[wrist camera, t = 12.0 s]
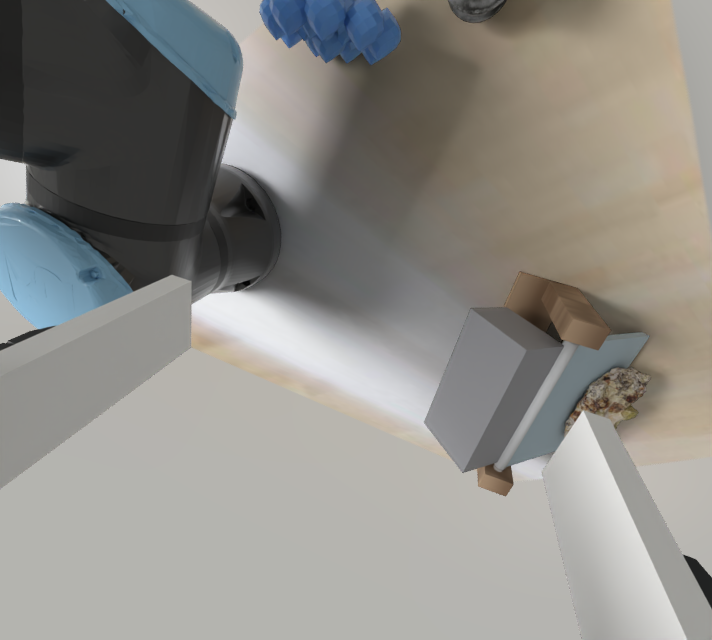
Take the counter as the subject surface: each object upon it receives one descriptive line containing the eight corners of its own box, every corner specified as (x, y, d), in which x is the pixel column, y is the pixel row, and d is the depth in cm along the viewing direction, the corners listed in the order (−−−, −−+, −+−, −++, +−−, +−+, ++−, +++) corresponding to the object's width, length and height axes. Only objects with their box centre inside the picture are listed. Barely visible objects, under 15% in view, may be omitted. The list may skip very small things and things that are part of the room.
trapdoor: (422, 425, 42) (465, 482, 37) (472, 303, 35) (536, 350, 29) (526, 403, 51) (575, 446, 45) (585, 301, 43) (652, 337, 38)
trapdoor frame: (453, 417, 49) (450, 476, 40) (519, 271, 39) (535, 307, 30) (498, 432, 48) (505, 496, 39) (577, 288, 38) (611, 330, 30)
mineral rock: (632, 369, 34) (680, 393, 37) (597, 344, 38) (643, 368, 41) (556, 450, 38) (605, 466, 41) (531, 420, 42) (578, 437, 44)
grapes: (424, -5, 32) (405, -79, 21) (404, 87, 35) (379, 61, 24) (299, -25, 33) (223, -103, 23) (291, 64, 36) (221, 31, 26)
